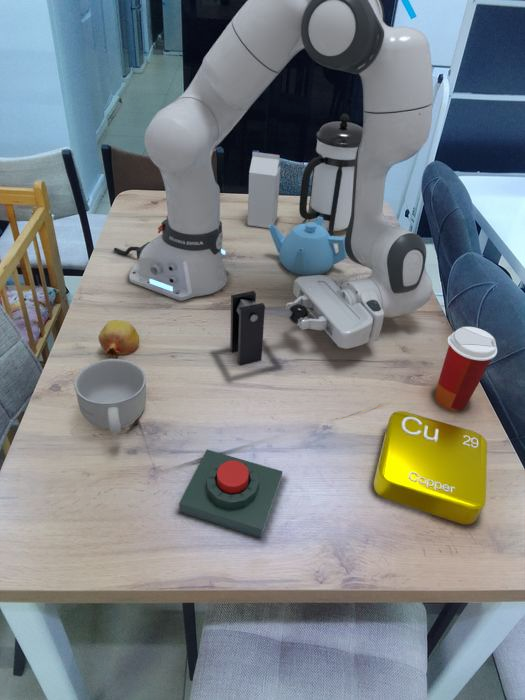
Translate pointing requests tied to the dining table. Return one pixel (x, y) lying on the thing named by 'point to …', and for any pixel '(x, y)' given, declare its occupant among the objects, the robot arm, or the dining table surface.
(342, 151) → the coffee press
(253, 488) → the box
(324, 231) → the teapot
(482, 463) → the element tile
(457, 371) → the paper cup
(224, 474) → the button
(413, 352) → the dining table surface
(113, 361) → the teacup
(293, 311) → the lever
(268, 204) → the milk carton
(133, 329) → the fruit
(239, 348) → the bracket
